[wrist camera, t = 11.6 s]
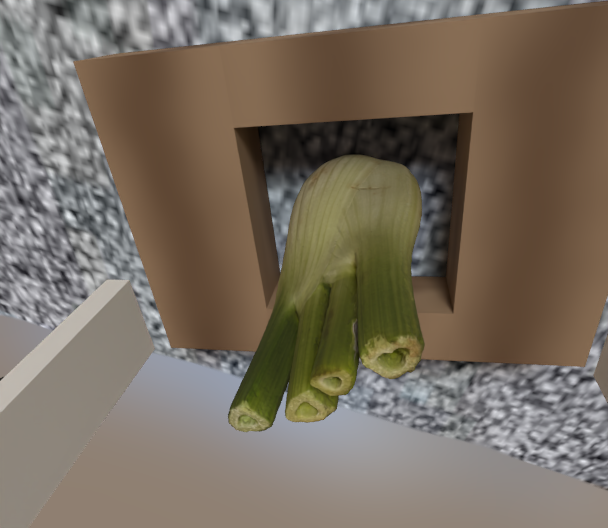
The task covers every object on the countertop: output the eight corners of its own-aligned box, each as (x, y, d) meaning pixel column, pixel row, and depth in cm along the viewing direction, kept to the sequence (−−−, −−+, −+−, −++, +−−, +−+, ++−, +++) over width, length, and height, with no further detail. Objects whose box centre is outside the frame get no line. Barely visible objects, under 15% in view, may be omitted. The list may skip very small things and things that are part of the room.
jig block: (648, -4, 14) (704, -6, 12) (561, 323, 21) (584, 366, 19) (117, 53, 18) (73, 61, 16) (193, 313, 25) (171, 347, 23)
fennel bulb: (307, 248, 22) (231, 461, 12) (283, 155, 19) (162, 320, 9) (424, 235, 20) (452, 467, 10) (414, 132, 18) (438, 300, 8)
